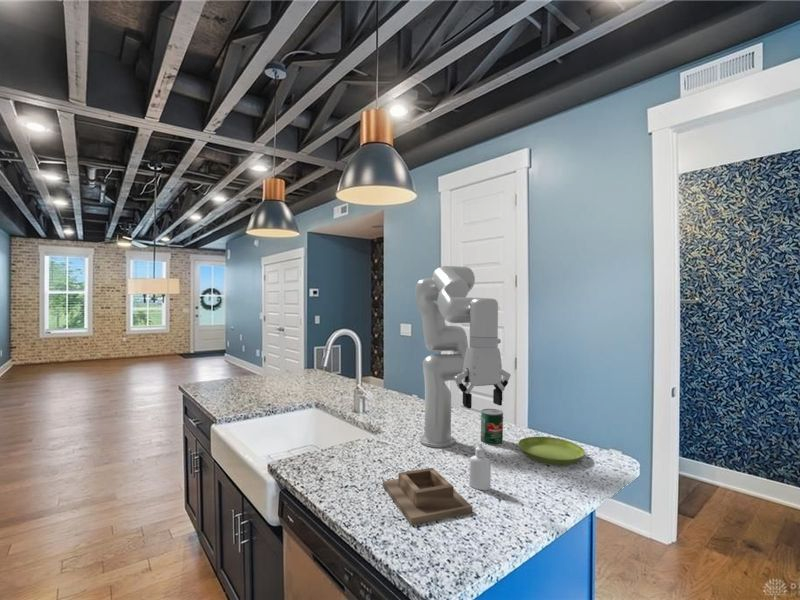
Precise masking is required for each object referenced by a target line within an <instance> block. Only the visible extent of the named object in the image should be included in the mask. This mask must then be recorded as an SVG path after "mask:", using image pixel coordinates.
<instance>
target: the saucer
mask: <svg viewBox="0 0 800 600" xmlns="http://www.w3.org/2000/svg"><path fill="white" fill-rule="evenodd" d="M517 444H518V446H519V449H520V451H521V452H522V453H523V454H524V455H525V456H526V457H528V458H529V459H531V460H532V461H534V462H537V463H540V464H544V465H550V466H557V467H558V466H562V467H563V466H571V464H572V465H574V464H576V463H578V462H579V461H581V459H582V458H583V457H584V456H585V454H586V450H585V449H584V448H583V447H581V446H580V445H578V444H577V443H575V442H572V441H569V440H566V439H562V438H558V437H553V436H529V437H524V438H522V439H519V441H518V443H517Z"/></svg>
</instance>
